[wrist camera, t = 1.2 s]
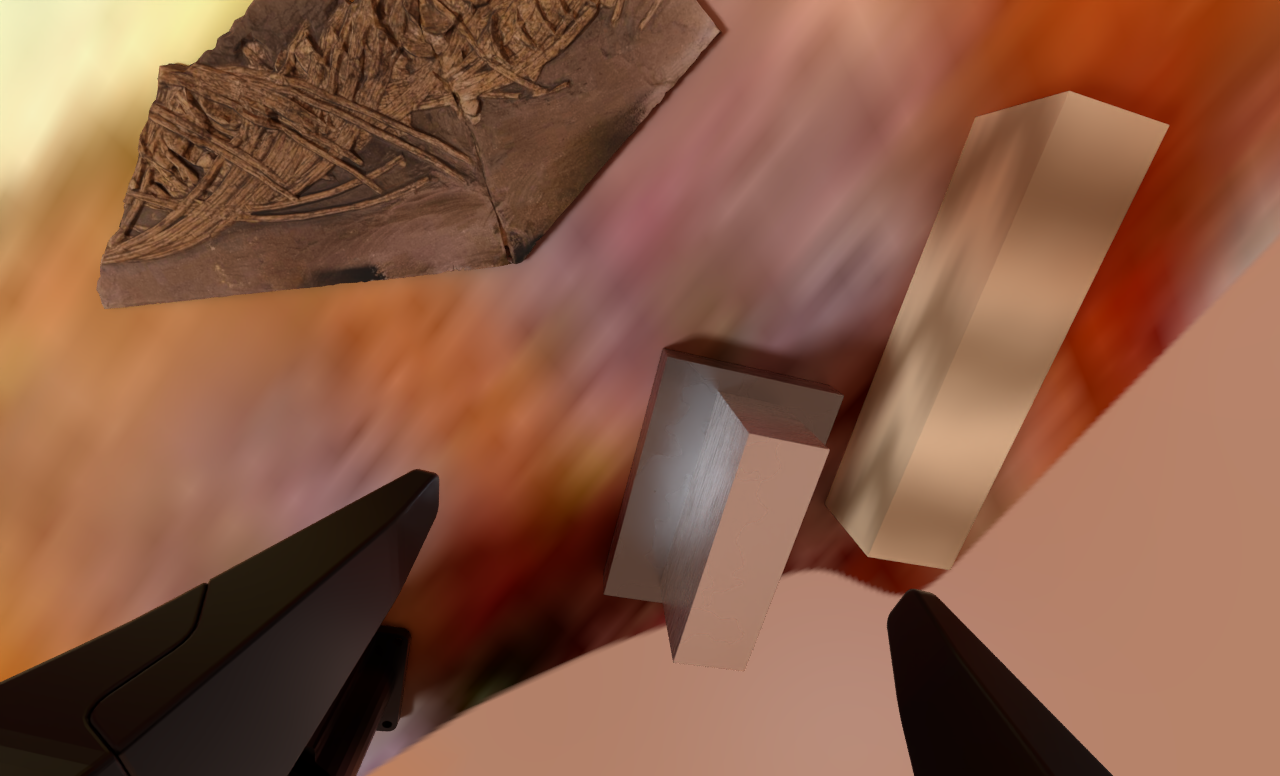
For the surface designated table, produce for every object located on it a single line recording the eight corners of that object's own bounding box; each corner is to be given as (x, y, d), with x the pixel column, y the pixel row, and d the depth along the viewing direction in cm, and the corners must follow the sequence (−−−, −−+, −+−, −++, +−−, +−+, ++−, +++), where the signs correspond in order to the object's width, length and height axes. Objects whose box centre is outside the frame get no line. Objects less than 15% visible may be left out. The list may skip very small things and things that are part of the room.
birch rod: (892, 513, 26) (950, 569, 22) (822, 501, 26) (867, 556, 21) (1053, 145, 21) (1169, 124, 17) (970, 118, 20) (1069, 90, 16)
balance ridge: (750, 595, 27) (793, 696, 21) (603, 573, 25) (605, 674, 20) (828, 385, 23) (904, 437, 18) (662, 348, 22) (686, 391, 16)
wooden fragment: (667, -162, 17) (672, -186, 16) (754, 172, 20) (762, 169, 19) (-19, 118, 18) (-56, 112, 17) (179, 392, 21) (159, 400, 20)
